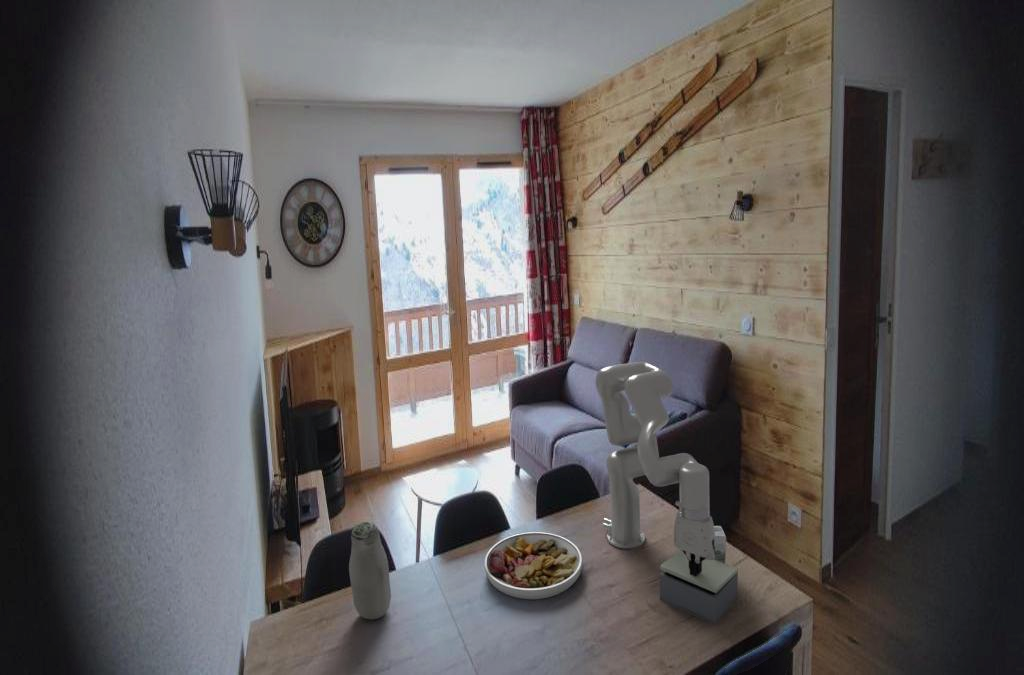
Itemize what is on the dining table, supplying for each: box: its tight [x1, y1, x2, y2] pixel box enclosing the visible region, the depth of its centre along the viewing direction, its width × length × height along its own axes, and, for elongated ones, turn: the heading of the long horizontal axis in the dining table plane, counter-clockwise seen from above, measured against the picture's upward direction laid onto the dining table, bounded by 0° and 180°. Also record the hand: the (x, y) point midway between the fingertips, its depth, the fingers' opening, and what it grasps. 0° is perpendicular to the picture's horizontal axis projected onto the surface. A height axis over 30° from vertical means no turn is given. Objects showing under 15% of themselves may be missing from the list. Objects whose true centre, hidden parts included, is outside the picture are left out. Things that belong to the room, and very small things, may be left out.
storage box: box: [659, 570, 739, 626], centre depth 153 cm, size 16×14×8 cm
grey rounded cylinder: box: [348, 521, 392, 620], centre depth 153 cm, size 10×10×28 cm
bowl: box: [484, 531, 583, 600], centre depth 170 cm, size 30×30×8 cm
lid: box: [659, 549, 739, 593], centre depth 152 cm, size 16×14×1 cm
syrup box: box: [714, 525, 727, 564], centre depth 163 cm, size 6×6×14 cm
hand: (695, 573), depth 149 cm, fingers closed
